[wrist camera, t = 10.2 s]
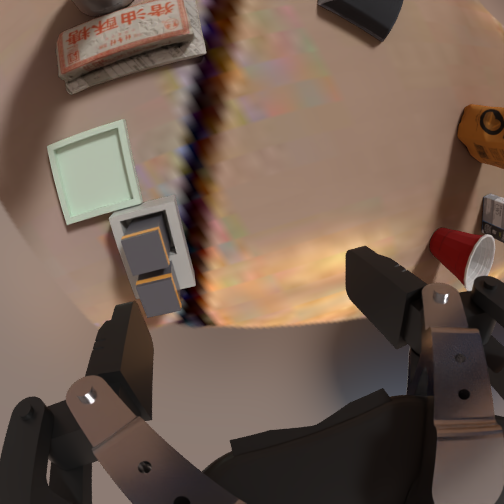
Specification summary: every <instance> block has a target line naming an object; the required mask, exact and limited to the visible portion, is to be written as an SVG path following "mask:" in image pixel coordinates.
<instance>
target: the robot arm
mask: <svg viewBox="0 0 504 504" xmlns="http://www.w3.org/2000/svg"><path fill="white" fill-rule="evenodd" d="M72 1H73V2H74V3H75V5H76V6H77V7H78V8H79V9H80V11H81V12H83V13H84V14H87V15H89V16H103V15H106V14H109V13H112V12H115V11H118V10H120V9H122V8H124V7H126V6H127V5H128V4H130V3H131V2H132V1H133V0H72ZM346 291H347V295H348V297H349V299H350V300H351V301H352V302H353V303H354V304H355V305H356V306H357V308H358V309H359V310H360V311H361V312H362V313H363V314H364V315H365V316H366V317H367V318H368V319H369V320H370V321H371V322H372V323H373V324H374V326H375V327H376V328H377V329H378V330H379V331H380V332H381V333H382V334H383V335H384V336H385V337H386V339H387V340H388V341H389V342H390V343H391V344H392V345H393V346H394V347H395V348H396V349H399V348H401V347H402V346H405V345H407V344H409V345H410V350H409V359H408V361H409V362H408V380H407V393H406V395H399V396H392V397H389V396H388V394H387V393H386V392H385V390H384V389H383V388H382V389H380V390H378V391H375V392H373V393H371V394H369V395H367V396H364V397H362V398H360V399H358V400H355V401H353V402H350V403H349V404H347V405H346V406H344V407H343V408H341V409H340V410H339V411H337V412H336V413H334V414H333V415H331V416H330V417H328V418H327V419H325V420H323V421H322V422H321V423H319V424H317V425H314V426H308V427H301V428H290V429H279V430H269V431H266V432H262V433H258V434H254V435H251V436H246V437H242V438H238V439H233V440H230V443H231V447H232V451H231V452H229V453H227V454H225V455H223V456H222V457H220V458H218V459H217V460H215V461H214V462H213V463H211V464H210V465H209V466H208V467H206V468H205V470H203V471H202V472H201V471H200V470H199V469H197V468H196V467H195V466H194V465H192V464H191V463H190V462H189V461H188V460H186V459H185V458H184V457H183V456H182V455H180V454H179V453H178V452H177V451H176V450H175V449H174V448H173V447H171V446H170V445H169V444H168V443H167V442H166V441H165V440H164V439H163V438H162V437H161V436H159V435H158V434H157V433H156V432H155V431H154V430H153V429H152V428H151V427H150V426H149V425H148V424H147V423H146V422H145V421H149V420H152V380H153V354H154V348H153V342H152V338H151V335H150V333H149V330H148V328H147V326H146V323H145V321H144V318H143V316H142V314H141V311H140V309H139V306H138V304H137V303H136V302H135V301H133V302H128V303H124V304H119V305H116V306H115V309H114V312H113V315H112V319H111V320H109V321H106V322H105V323H104V324H103V325H102V327H101V328H100V329H99V331H98V334H97V337H96V340H95V341H96V342H95V343H94V347H93V351H92V353H91V357H90V360H89V364H88V368H87V371H86V375H85V377H83V378H81V379H79V380H77V381H76V382H74V384H72V385H71V387H70V388H69V390H68V392H67V394H66V400H64V401H61V402H59V403H56V404H53V405H51V406H48V407H47V406H46V405H45V404H44V403H43V401H42V400H41V399H40V398H38V397H28V398H25V399H23V400H22V401H21V402H19V403H18V405H17V406H16V407H15V408H14V410H13V412H12V415H11V419H10V422H9V425H8V429H7V433H6V437H5V441H4V445H3V449H2V453H1V458H0V504H92V484H91V483H92V479H91V477H92V462H95V461H99V462H100V464H101V465H102V466H103V468H104V469H105V470H106V472H107V473H108V474H109V475H110V477H111V478H112V480H113V481H114V482H115V483H116V485H117V486H118V487H119V488H120V490H121V491H122V492H123V493H124V494H125V496H126V497H127V498H128V499H129V500H130V501H131V502H132V504H504V417H501V416H497V415H494V407H493V398H492V391H491V386H492V387H493V388H494V389H495V390H496V391H497V392H498V393H499V395H500V396H501V397H502V398H503V399H504V346H503V345H502V344H500V343H499V342H498V341H497V340H496V339H495V338H494V337H493V336H492V335H491V334H492V331H493V329H494V326H495V323H496V321H497V322H498V323H499V324H500V325H501V326H503V327H504V283H503V282H501V281H500V280H498V279H496V278H494V277H491V276H479V277H477V278H476V279H475V280H474V283H473V287H472V291H466V292H460V293H459V292H458V291H457V290H456V289H455V288H454V287H452V286H450V285H448V284H444V283H431V284H426V283H425V282H423V281H422V280H421V279H419V278H418V277H416V276H415V275H414V274H412V273H411V272H409V271H408V270H407V271H406V269H405V268H404V267H402V266H401V265H400V266H399V264H398V263H397V262H395V261H394V260H392V259H391V258H388V257H385V256H382V255H379V254H377V253H376V252H374V251H373V250H371V249H370V248H368V247H367V246H362V247H358V248H355V249H351V250H348V251H347V253H346ZM48 459H49V460H50V461H51V470H50V482H49V486H48V484H47V480H46V473H47V463H48Z"/></svg>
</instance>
